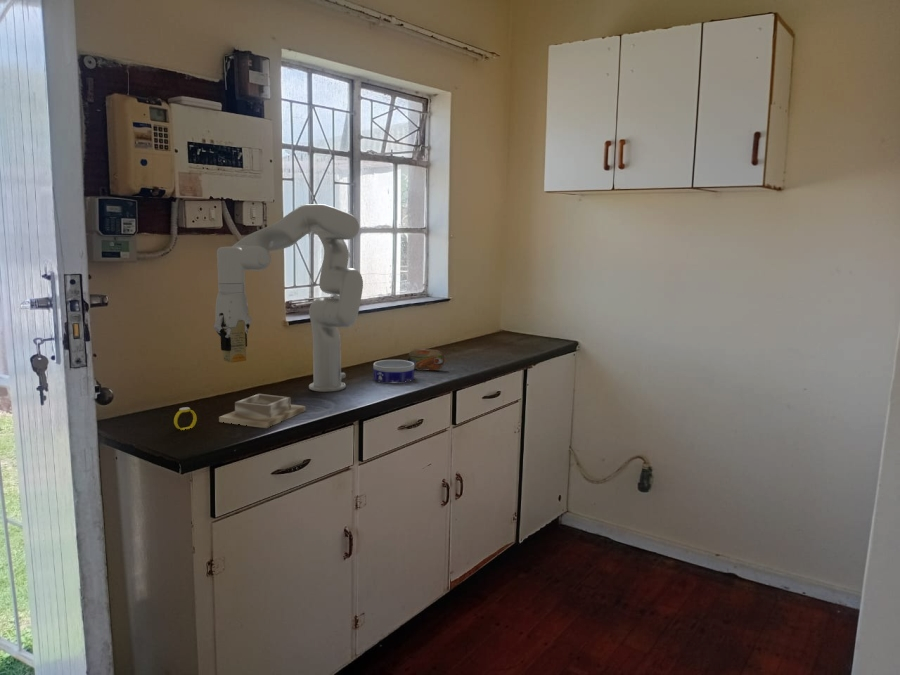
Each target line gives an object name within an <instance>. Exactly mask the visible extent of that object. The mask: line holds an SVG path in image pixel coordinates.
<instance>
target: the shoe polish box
mask: <svg viewBox="0 0 900 675" xmlns="http://www.w3.org/2000/svg"><path fill="white" fill-rule="evenodd" d="M225 327H226V325H225ZM224 331H225V332H226V329H225V330H224ZM229 337H231V351H222V359H223V361H225V362H228V363H231V364H232V363H239V362H245V361H247V347H246V342H245V321H238V322H237V324H236V327H234V328H231V331H230V334H229Z"/></svg>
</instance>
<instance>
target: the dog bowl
mask: <svg viewBox="0 0 900 675" xmlns="http://www.w3.org/2000/svg"><path fill="white" fill-rule="evenodd" d="M374 379H375V380H376V382H378V381H380V382H379V383H382V382H405V381H410V380H412V381H414V380H415V370H414V363H413V362H410V361H407V360H404V359H383V360H382V359H381V360H378V361H375V362H373V380H374ZM413 379H414V380H413ZM375 380H374V381H375ZM410 382H411V381H410ZM405 383H406V382H405Z"/></svg>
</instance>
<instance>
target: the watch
mask: <svg viewBox="0 0 900 675" xmlns="http://www.w3.org/2000/svg"><path fill="white" fill-rule="evenodd" d="M189 412H190V413H191V414H192V418H193V419H192V422H191V423H190V425H189V426H186V427H180V426H179V424H178V419H179V417H180V415H182V413H189ZM197 419H198V418H197V414H196V413H195V411H194V410H192V409H191V408H190V407H188V406H186V407H180V408H179V410H178V411H177V412H176V413H175V415H174V418H173V424H174V426H175V428H176V429H178V430H179V429H180V430H179V431H182V430H183V431H185V429H186V430H190V428H191V429H192V428H194V427H195V425H196V423H197V421H198V420H197Z"/></svg>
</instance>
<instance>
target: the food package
mask: <svg viewBox="0 0 900 675" xmlns="http://www.w3.org/2000/svg"><path fill="white" fill-rule="evenodd" d="M406 361H410V362H413V363H414V369H429V370H437V371H439V370H441V369H442V368H443V367H444V365H445V363H446V359H445V355H444V354H443V352H441V351H440V350H438V349H424V348H423V349H422V348H421V349H419V348H417V349H412V350H411V351H410V352H409V353H408V355H407V360H406Z"/></svg>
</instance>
